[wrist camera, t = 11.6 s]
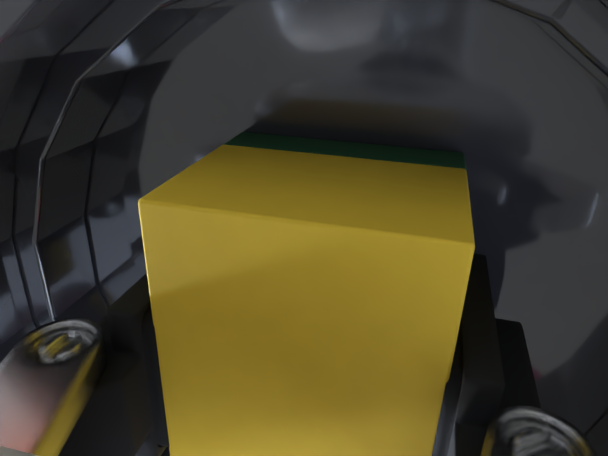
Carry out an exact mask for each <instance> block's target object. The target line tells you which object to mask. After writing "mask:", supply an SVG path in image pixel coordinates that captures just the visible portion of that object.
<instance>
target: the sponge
mask: <svg viewBox="0 0 608 456" xmlns="http://www.w3.org/2000/svg"><path fill="white" fill-rule="evenodd" d="M138 208H139V216H140V223H141V231H142V239H143V247H144V255H145V263H146V271H147V279H148V286H149V294H150V302H151V310H152V318H153V325H154V327H155V335H156V343H157V351H158V358H159V366H160V374H161V382H162V390H163V398H164V406H165V414H166V422H167V430H168V438H169V446H170V447H169V452H170V456H432V452H433V447H434V442H435V436H436V431H437V426H438V421H439V416H440V410H441V405H442V400H443V395H444V390H445V384H446V382H448V380H449V377H450V372H451V367H452V362H453V357H454V352H455V347H456V342H457V337H458V332H459V326H460V321H461V316H462V311H463V306H464V301H465V296H466V291H467V285H468V280H469V275H470V270H471V265H472V260H473V255H474V250H475V242H474V233H473V224H472V216H471V207H470V198H469V189H468V180H467V172H466V163H465V156H464V154H463V153H460V152H449V151H439V150H428V149H417V148H407V147H396V146H386V145H375V144H364V143H354V142H343V141H332V140H322V139H311V138H301V137H290V136H279V135H269V134H258V133H247V132H242V133H240V134H238V135H237V136H235V137H234V138H232V139H231V140H229V141H228V142H226V143H225V144H224V145H221V146H220V147H218V148H217V149H215V150H214V151H212V152H211V153H209V154H208V155H206V156H205V157H203V158H202V159H200V160H199V161H197V162H195V163H194V164H192V165H191V166H189V167H188V168H186V169H185V170H183V171H182V172H180V173H179V174H177V175H176V176H174V177H173V178H171V179H170V180H168V181H166V182H165V183H163V184H162V185H160V186H159V187H157V188H156V189H154V190H153V191H151V192H150V193H148V194H147V195H145V196H144V197H142V198H141V199H139V201H138Z"/></svg>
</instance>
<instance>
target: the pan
mask: <svg viewBox="0 0 608 456" xmlns="http://www.w3.org/2000/svg"><path fill="white" fill-rule="evenodd" d="M242 132H247V133H258V134H269V135H279V136H290V137H301V138H311V139H322V140H332V141H343V142H354V143H364V144H375V145H386V146H396V147H407V148H417V149H428V150H439V151H449V152H460V153H463V154H464V156H465V163H466V172H467V180H468V189H469V198H470V207H471V216H472V224H473V233H474V242H475V250H474V254H482V255H486V260H487V267H488V273H489V280H490V287H491V293H492V300H493V307H494V314H495V318H498V319H504V320H511V321H517V322H520V323H521V324H522V327H523V331H524V335H525V340H526V344H527V348H528V353H529V357H530V361H531V366H532V370H533V375H534V379H535V383H536V388H537V392H538V396H539V401H540V405H541V409H544V410H547V411H549V412H551V413H554V414H556V415H558V416H560V417H562V418H564V419H565V420H567V421H568V422H570V423H571V424H573V425H574V426H575V427H577V428H578V429H579V430H580V431H581V432H582V433H583V434H584V435H585V436H586V437H587V438H588V440H589V441H590V443H591V445H592V446H593V448H594V449H595V451H596V454H597V456H608V0H0V363H1V362H2V360H3V359H4V358H5V357H6V356H7V355H8V353H9V352H10V351H11V350H12V349H13V348H14V346H15V345H16V344H17V343H18V342H19V340H21V339H22V338H23V337H24V336H25V335H26V334H27V333H29V332H30V331H32V330H34V329H35V328H37V327H39V326H41V325H44V324H47V323H49V322H52V321H56V320H61V319H66V318H82V319H89V320H91V321H94V322H96V323H98V322H99V321H100V320H101V319H102V318H103V317H104V316H106V315H107V312H106V309H107V308H109V307H110V306H111V305H112V304H113V303H114V302H115V301H116V300H117V299H118V298H120V297H121V296H122V295H123V294H124V293H125V292H126V291H127V290H128V289H129V288H130V287H132V286H133V285H134V284H135V283H136V282H137V281H138V280H139V279H140V278H141V277H142V276H144V275H145V274H146V273H147V271H146V263H145V255H144V247H143V239H142V231H141V223H140V216H139V208H138V201H139V199H141V198H142V197H144V196H145V195H147V194H148V193H150V192H151V191H153V190H154V189H156V188H157V187H159V186H160V185H162V184H163V183H165V182H166V181H168V180H170V179H171V178H173V177H174V176H176V175H177V174H179V173H180V172H182V171H183V170H185V169H186V168H188V167H189V166H191V165H192V164H194V163H195V162H197V161H199V160H200V159H202V158H203V157H205V156H206V155H208V154H209V153H211V152H212V151H214V150H215V149H217V148H218V147H220V146H221V145H224V144H225V143H226V142H228V141H229V140H231V139H232V138H234V137H235V136H237V135H238V134H240V133H242ZM161 456H170V452H169V447H166V449H165V450H164V452H163V453H162V455H161Z"/></svg>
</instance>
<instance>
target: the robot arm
mask: <svg viewBox="0 0 608 456" xmlns="http://www.w3.org/2000/svg"><path fill="white" fill-rule="evenodd" d="M106 312H107V315H106V316H104V317H103V318H102V319H101V320H100V321H99V322H98V323H96V322H94V321H91V320H89V319H82V318H66V319H61V320H56V321H52V322H49V323H47V324H44V325H41V326H39V327H37V328H35V329H34V330H32V331H30V332H29V333H27V334H26V335H25V336H24V337H23V338H22V339H21V340H19V342H18V343H17V344H16V345H15V346H14V348H13V349H12V350H11V351H10V352H9V353H8V355H7V356H6V357H5V358H4V359H3V360H2V362H1V363H0V456H161V455H162V453H163V452H164V450H165V449H166V447H170V446H169V438H168V430H167V422H166V414H165V406H164V398H163V390H162V382H161V374H160V366H159V358H158V351H157V343H156V335H155V327H154V325H153V318H152V310H151V302H150V294H149V286H148V279H147V273H146V274H145V275H144V276H142V277H141V278H140V279H139V280H138V281H137V282H136V283H135V284H134V285H133V286H132V287H130V288H129V289H128V290H127V291H126V292H125V293H124V294H123V295H122V296H121V297H120V298H118V299H117V300H116V301H115V302H114V303H113V304H112V305H111V306H110V307H109V308H107V309H106ZM432 456H597V454H596V451H595V449H594V448H593V446H592V445H591V443H590V441H589V440H588V438H587V437H586V436H585V435H584V434H583V433H582V432H581V431H580V430H579V429H578V428H577V427H575V426H574V425H573V424H571V423H570V422H568V421H567V420H565V419H564V418H562V417H560V416H558V415H556V414H554V413H551V412H549V411H547V410H544V409H541V405H540V401H539V396H538V392H537V388H536V383H535V379H534V375H533V370H532V366H531V361H530V357H529V353H528V348H527V344H526V340H525V335H524V331H523V327H522V324H521V323H520V322H517V321H511V320H504V319H498V318H495V314H494V307H493V300H492V293H491V287H490V280H489V273H488V267H487V260H486V255H482V254H474V255H473V260H472V265H471V270H470V275H469V280H468V285H467V291H466V296H465V301H464V306H463V311H462V316H461V321H460V326H459V332H458V337H457V342H456V347H455V352H454V357H453V362H452V367H451V372H450V377H449V380H448V382H446V384H445V390H444V395H443V400H442V405H441V410H440V416H439V421H438V426H437V431H436V436H435V442H434V447H433V452H432Z"/></svg>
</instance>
